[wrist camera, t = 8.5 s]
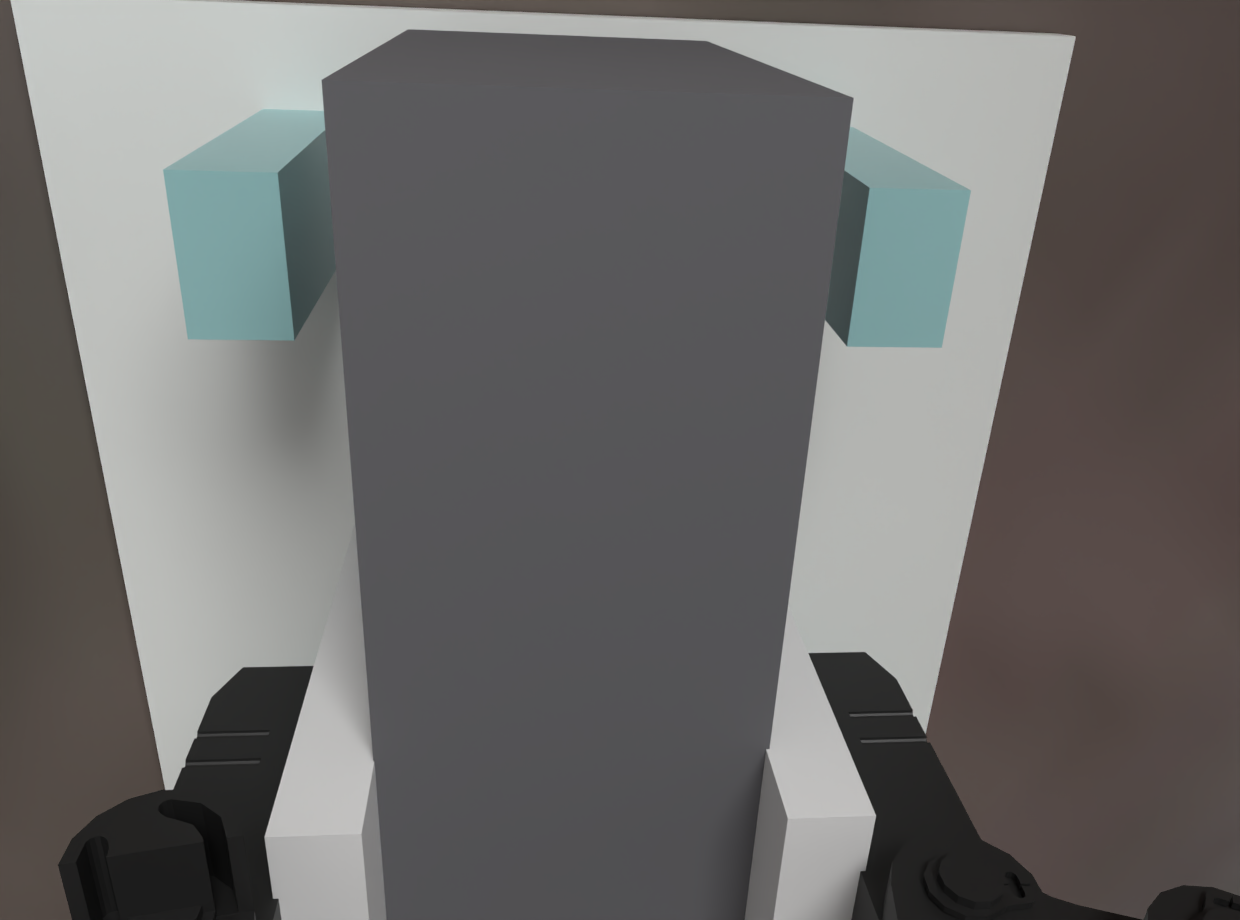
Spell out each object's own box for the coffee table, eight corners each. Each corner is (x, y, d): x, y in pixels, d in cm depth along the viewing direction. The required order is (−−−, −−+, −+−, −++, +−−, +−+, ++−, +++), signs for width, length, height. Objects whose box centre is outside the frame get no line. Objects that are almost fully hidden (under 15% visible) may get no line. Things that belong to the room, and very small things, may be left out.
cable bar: (377, 27, 12) (258, 80, 6) (735, 41, 12) (914, 101, 7) (424, 904, 18) (383, 1328, 12) (665, 894, 18) (730, 1299, 13)
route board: (27, -9, 13) (-207, 11, 9) (1057, 33, 14) (1278, 67, 10) (210, 961, 20) (131, 1217, 16) (870, 933, 21) (952, 1165, 17)
